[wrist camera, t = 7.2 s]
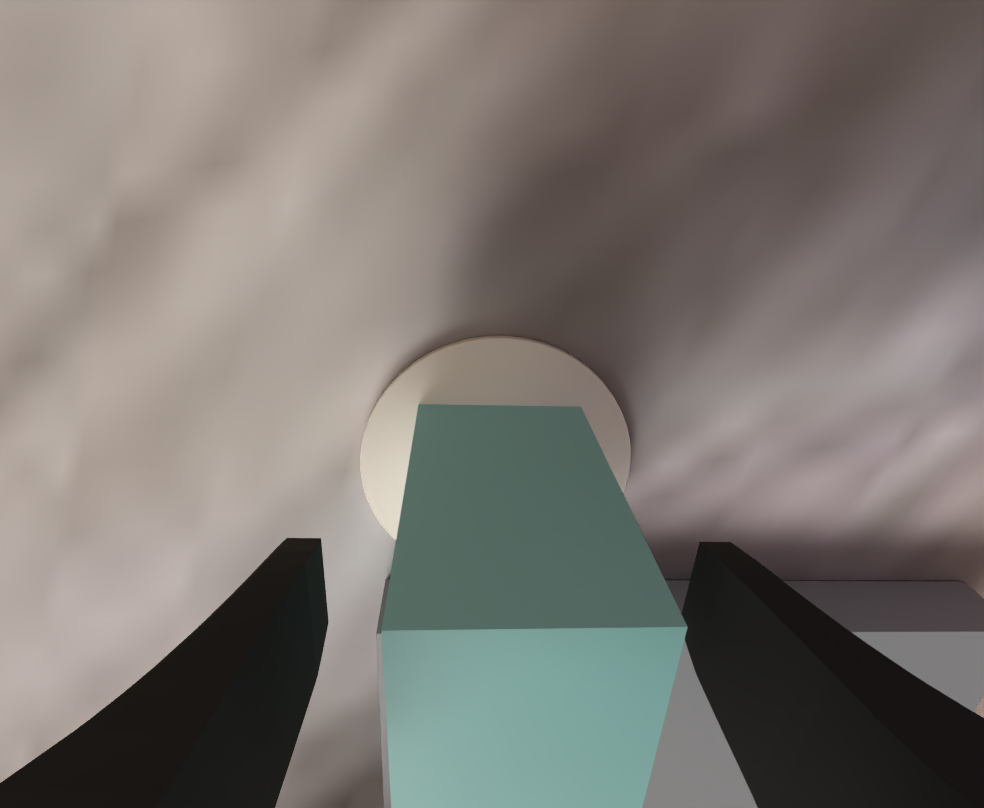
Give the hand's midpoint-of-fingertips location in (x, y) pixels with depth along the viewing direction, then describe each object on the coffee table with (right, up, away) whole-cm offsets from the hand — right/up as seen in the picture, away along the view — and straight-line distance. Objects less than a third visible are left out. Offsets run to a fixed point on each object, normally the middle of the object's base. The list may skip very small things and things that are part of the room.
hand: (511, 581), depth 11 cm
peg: (0, +2, +4) cm, 4 cm away
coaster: (0, +2, +4) cm, 4 cm away
